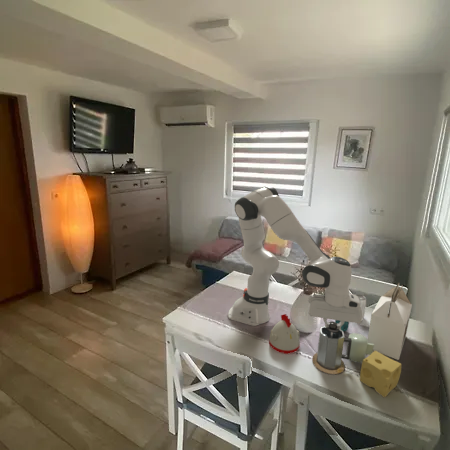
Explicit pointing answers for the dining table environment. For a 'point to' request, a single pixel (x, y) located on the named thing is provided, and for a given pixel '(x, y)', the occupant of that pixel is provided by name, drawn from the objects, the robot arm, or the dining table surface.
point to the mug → (359, 347)
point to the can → (362, 304)
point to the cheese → (380, 373)
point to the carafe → (331, 352)
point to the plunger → (332, 328)
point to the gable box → (390, 323)
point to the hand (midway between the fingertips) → (332, 327)
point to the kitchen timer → (284, 336)
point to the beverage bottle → (344, 326)
